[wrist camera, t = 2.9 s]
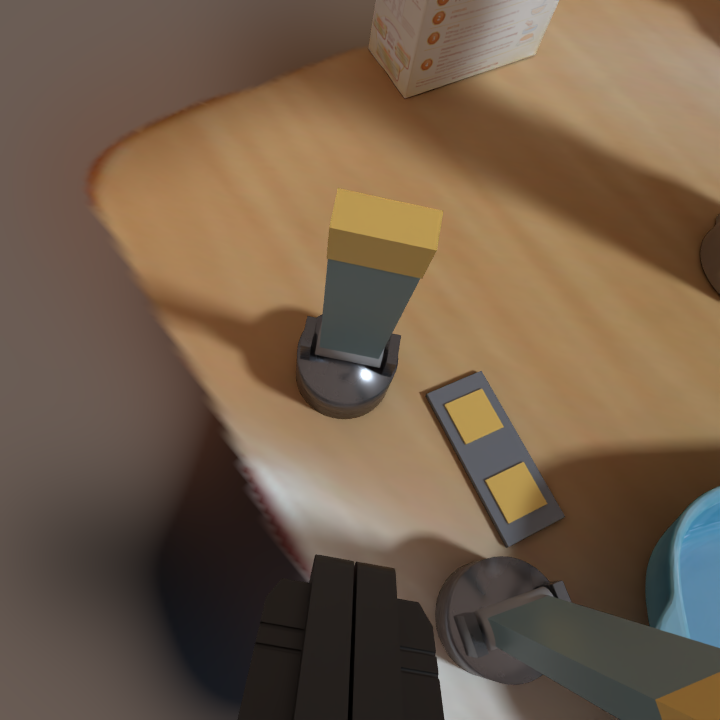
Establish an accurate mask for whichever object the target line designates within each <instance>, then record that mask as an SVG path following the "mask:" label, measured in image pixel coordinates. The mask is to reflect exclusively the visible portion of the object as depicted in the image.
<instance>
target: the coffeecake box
mask: <svg viewBox="0 0 720 720" xmlns="http://www.w3.org/2000/svg"><path fill="white" fill-rule="evenodd" d="M558 2H559V0H375V7H374V14H373V20H372V27H371V34H370V41H369V46H368V48H369V50H370V52H371V53H372V55H373V56H374V57H375V59H376V60H377V61H378V63H379V64H380V65H381V66H382V67H383V68H384V70H385V71H386V72H387V74H388V75H389V77H390V78H391V80H392V82H393V83H394V85H395V86H396V87H397V89H398V90H399V91H400V93H401V94H402V96H403V97H404V98H408V97H411V96H414V95H417V94H420V93H423V92H426V91H429V90H432V89H435V88H438V87H441V86H444V85H446V84H449V83H453V82H456V81H459V80H462V79H465V78H468V77H471V76H473V75H476V74H479V73H483V72H486V71H489V70H492V69H495V68H498V67H500V66H503V65H506V64H510V63H513V62H515V61H518V60H521V59H524V58H528V57H530V56H534V55H536V52H537V49H538V47H539V45H540V43H541V40H542V38H543V36H544V33H545V31H546V29H547V27H548V24H549V22H550V20H551V18H552V15H553V13H554V11H555V9H556V7H557V4H558Z"/></svg>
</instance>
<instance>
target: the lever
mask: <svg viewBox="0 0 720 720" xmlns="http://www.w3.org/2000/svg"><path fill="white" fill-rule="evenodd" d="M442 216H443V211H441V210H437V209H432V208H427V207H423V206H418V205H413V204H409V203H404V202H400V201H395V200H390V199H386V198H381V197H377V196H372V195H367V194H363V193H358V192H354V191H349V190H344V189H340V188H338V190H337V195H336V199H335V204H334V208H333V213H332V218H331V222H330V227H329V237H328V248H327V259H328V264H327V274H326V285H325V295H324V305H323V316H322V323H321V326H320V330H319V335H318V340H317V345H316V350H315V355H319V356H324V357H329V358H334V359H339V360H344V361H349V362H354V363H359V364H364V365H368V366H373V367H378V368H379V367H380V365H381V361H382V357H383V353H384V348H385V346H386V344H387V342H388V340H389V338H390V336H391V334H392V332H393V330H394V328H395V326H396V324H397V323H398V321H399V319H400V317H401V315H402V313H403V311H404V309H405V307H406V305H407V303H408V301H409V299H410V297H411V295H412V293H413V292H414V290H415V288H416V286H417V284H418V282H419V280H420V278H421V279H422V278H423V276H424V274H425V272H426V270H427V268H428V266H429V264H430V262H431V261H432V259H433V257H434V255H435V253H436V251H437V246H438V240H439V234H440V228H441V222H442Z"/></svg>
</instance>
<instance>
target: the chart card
mask: <svg viewBox="0 0 720 720" xmlns="http://www.w3.org/2000/svg"><path fill="white" fill-rule="evenodd" d="M426 397H427V399H428V401H429V403H430V405H431V406H432V408H433V410H434V412H435V414H436V416H437V418H438V420H439V422H440V423H441V425H442V427H443V429H444V431H445V433H446V435H447V437H448V438H449V440H450V442H451V444H452V446H453V448H454V450H455V452H456V454H457V455H458V457H459V459H460V461H461V463H462V465H463V467H464V469H465V470H466V472H467V474H468V476H469V478H470V480H471V482H472V484H473V486H474V487H475V489H476V491H477V493H478V495H479V497H480V499H481V501H482V502H483V504H484V506H485V508H486V510H487V512H488V514H489V516H490V518H491V519H492V521H493V523H494V525H495V527H496V529H497V531H498V533H499V534H500V536H501V538H502V540H503V542H504V544H505V546H506V547H509V546H511V545H513V544H515V543H516V542H518V541H520V540H522V539H524V538H526V537H528V536H530V535H532V534H534V533H535V532H537V531H539V530H541V529H543V528H545V527H547V526H549V525H551V524H553V523H554V522H556V521H558V520H560V519H562V518H564V517H565V516H564V514H563V512H562V510H561V509H560V507H559V505H558V503H557V502H556V500H555V498H554V496H553V495H552V493H551V491H550V490H549V488H548V486H547V484H546V483H545V481H544V479H543V477H542V476H541V474H540V472H539V470H538V469H537V467H536V465H535V463H534V462H533V460H532V458H531V456H530V455H529V453H528V451H527V449H526V448H525V446H524V444H523V442H522V441H521V439H520V437H519V435H518V434H517V432H516V430H515V429H514V427H513V425H512V423H511V422H510V420H509V418H508V416H507V415H506V413H505V411H504V409H503V408H502V406H501V404H500V402H499V401H498V399H497V397H496V395H495V394H494V392H493V390H492V388H491V387H490V385H489V383H488V381H487V380H486V378H485V376H484V374H483V373H482V371H480V372H477V373H475V374H473V375H470V376H468V377H465V378H463V379H461V380H458V381H456V382H454V383H451V384H449V385H447V386H444V387H442V388H439V389H437V390H435V391H432V392H430V393H428V394H427V395H426Z"/></svg>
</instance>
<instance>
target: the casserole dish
mask: <svg viewBox="0 0 720 720" xmlns="http://www.w3.org/2000/svg"><path fill="white" fill-rule="evenodd" d="M645 593H646V605H647V613H648V619H649V624H650V627H653V628H656V629H659V630H663V631H666V632H669V633H672V634H676V635H679V636H682V637H685V638H689V639H692V640H695V641H698V642H702V643H705V644H708V645H711V646H715V647H718V648H720V486H718V487H716V488H714V489H712V490H710V491H708V492H706V493H704V494H702V495H701V496H699V497H698V498H697V499H696V500H694V501H693V502H692V503H691V504H690V505H689V506H688V507H687V508H686V509H685V510H684V511H683V513H682V514H681V515H680V516H679V517H678V518H677V519H676V521H675V522H674V523H673V524H672V525H671V526H670V527H669V528H668V529H667V530H666V532H665V533H664V534H663V536H662V537H661V538H660V539H659V541H658V543H657V544H656V546H655V548H654V550H653V552H652V554H651V557H650V560H649V563H648V566H647V572H646V588H645Z"/></svg>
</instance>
